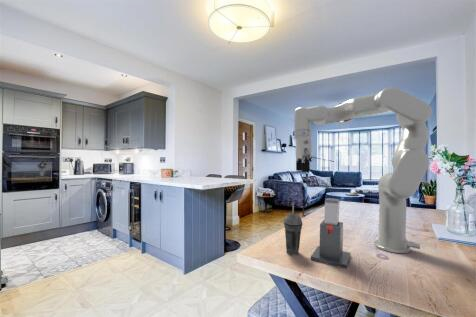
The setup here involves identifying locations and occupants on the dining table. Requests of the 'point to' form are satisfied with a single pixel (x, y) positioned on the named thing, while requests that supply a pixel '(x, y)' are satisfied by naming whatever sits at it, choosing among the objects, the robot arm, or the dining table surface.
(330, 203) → the column
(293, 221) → the beverage cup
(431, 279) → the dining table surface
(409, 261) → the dining table surface
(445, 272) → the dining table surface
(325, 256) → the stand
